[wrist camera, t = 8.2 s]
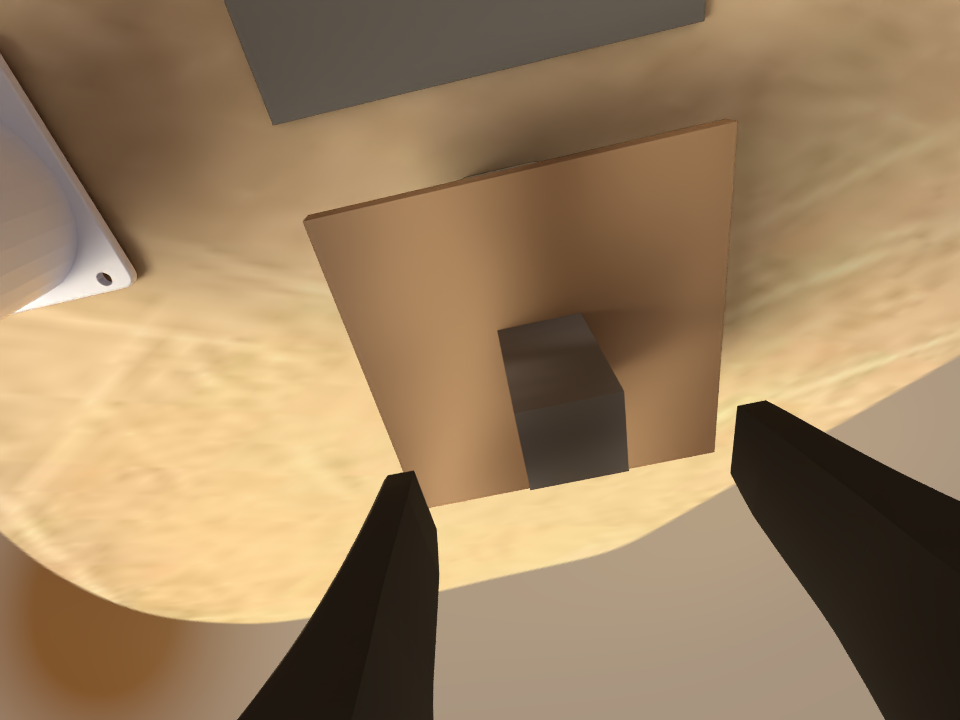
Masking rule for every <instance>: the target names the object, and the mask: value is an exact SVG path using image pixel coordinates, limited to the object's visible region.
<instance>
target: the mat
mask: <svg viewBox="0 0 960 720" xmlns="http://www.w3.org/2000/svg"><path fill="white" fill-rule="evenodd" d="M224 2H225V5H226V7H227V10H228V12H229V15H230V17H231V20H232V22H233V25H234V28H235V30H236V33H237V35H238V38H239V40H240V43H241V45H242V48H243V50H244V53H245V55H246V58H247V61H248V63H249V66H250V68H251V71H252V73H253V76H254V78H255V81H256V83H257V86H258V88H259V91H260V94H261V96H262V99H263V101H264V104H265V106H266V109H267V111H268V114H269V116H270V119H271V121H272V124H273V125H277V124H281V123H285V122H289V121H293V120H297V119H301V118H305V117H310V116H314V115H318V114H322V113H326V112H330V111H334V110H339V109H343V108H347V107H351V106H355V105H359V104H363V103H367V102H372V101H376V100H380V99H384V98H388V97H392V96H396V95H400V94H405V93H409V92H413V91H417V90H421V89H425V88H429V87H433V86H438V85H442V84H446V83H450V82H454V81H458V80H462V79H466V78H471V77H475V76H479V75H483V74H487V73H491V72H495V71H499V70H504V69H508V68H512V67H516V66H520V65H524V64H528V63H533V62H537V61H541V60H545V59H549V58H553V57H557V56H561V55H566V54H570V53H574V52H578V51H582V50H586V49H590V48H594V47H599V46H603V45H607V44H611V43H615V42H619V41H623V40H627V39H632V38H636V37H640V36H644V35H648V34H652V33H656V32H660V31H665V30H669V29H673V28H677V27H681V26H685V25H689V24H694V23H698V22H702V21H704V18H705V0H224Z"/></svg>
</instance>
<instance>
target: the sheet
mask: <svg viewBox="0 0 960 720" xmlns="http://www.w3.org/2000/svg"><path fill="white" fill-rule="evenodd" d="M737 124H738V121H733V120H728V119H723V120H719V121H714V122H710V123H706V124H701V125H697V126H693V127H688V128H684V129H680V130H675V131H671V132H667V133H662V134H658V135H654V136H649V137H645V138H641V139H636V140H632V141H628V142H623V143H619V144H615V145H610V146H606V147H602V148H597V149H593V150H589V151H584V152H580V153H576V154H571V155H567V156H563V157H558V158H554V159H550V160H545V161H541V162H537V163H532V164H528V165H524V166H519V167H515V168H511V169H506V170H502V171H498V172H493V173H489V174H485V175H480V176H476V177H472V178H467V179H463V180H459V181H454V182H450V183H446V184H441V185H437V186H433V187H428V188H424V189H420V190H415V191H411V192H407V193H402V194H398V195H394V196H389V197H385V198H381V199H376V200H372V201H368V202H363V203H359V204H355V205H350V206H346V207H342V208H337V209H333V210H329V211H324V212H320V213H316V214H311V215H308V216H307V217H306V218H305V219H304V221H303V224H304V226H305V229H306V231H307V234H308V236H309V238H310V241H311V243H312V246H313V248H314V251H315V253H316V256H317V258H318V261H319V263H320V266H321V268H322V271H323V273H324V276H325V278H326V281H327V283H328V286H329V288H330V291H331V293H332V296H333V298H334V301H335V303H336V306H337V308H338V310H339V313H340V315H341V318H342V320H343V323H344V325H345V328H346V330H347V333H348V335H349V338H350V340H351V343H352V345H353V348H354V350H355V353H356V355H357V358H358V360H359V363H360V365H361V368H362V370H363V373H364V375H365V378H366V380H367V382H368V385H369V387H370V390H371V392H372V395H373V397H374V400H375V402H376V405H377V407H378V410H379V412H380V415H381V417H382V420H383V422H384V425H385V427H386V430H387V432H388V435H389V437H390V440H391V442H392V445H393V447H394V450H395V452H396V454H397V457H398V459H399V462H400V464H401V467H402V469H403V472H408V471H413V470H414V472H415V474H416V477H417V479H418V482H419V485H420V487H421V490H422V492H423V495H424V498H425V500H426V503H427V506H428V508H431V507H436V506H441V505H446V504H451V503H456V502H462V501H467V500H472V499H477V498H482V497H487V496H492V495H497V494H502V493H508V492H513V491H518V490H523V489H528V488H530V490H534V489H539V488H544V487H549V486H554V485H559V484H565V483H570V482H575V481H580V480H585V479H590V478H595V477H600V476H605V475H611V474H616V473H621V472H626V471H629V469H630V468H635V467H640V466H646V465H651V464H656V463H661V462H666V461H671V460H676V459H681V458H686V457H692V456H697V455H702V454H707V453H712V452H714V450H715V436H716V421H717V407H718V393H719V379H720V365H721V350H722V336H723V322H724V308H725V294H726V280H727V265H728V251H729V237H730V223H731V209H732V195H733V180H734V166H735V152H736V138H737Z"/></svg>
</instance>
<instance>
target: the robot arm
mask: <svg viewBox="0 0 960 720" xmlns="http://www.w3.org/2000/svg"><path fill="white" fill-rule="evenodd" d="M103 273H106V274H108V275H109V276H110V277H111V279H112V282H111V281H109V280H107V279H106V278H105V277H104V276H103ZM136 280H137V274H136V271H135V269H134V267H133V266H132V264H131V263H130V261H129V259H128V258H127V256H126V255H125V253H124V251H123V250H122V248H121V247H120V245H119V243H118V242H117V240H116V239H115V237H114V235H113V234H112V232H111V231H110V229H109V227H108V226H107V224H106V222H105V221H104V219H103V218H102V216H101V214H100V213H99V211H98V210H97V208H96V206H95V205H94V203H93V202H92V200H91V198H90V197H89V195H88V194H87V192H86V190H85V189H84V187H83V185H82V184H81V182H80V181H79V179H78V177H77V176H76V174H75V173H74V171H73V169H72V168H71V166H70V165H69V163H68V161H67V160H66V158H65V157H64V155H63V153H62V152H61V150H60V149H59V147H58V145H57V144H56V142H55V140H54V139H53V137H52V136H51V134H50V132H49V131H48V129H47V128H46V126H45V124H44V123H43V121H42V120H41V118H40V116H39V115H38V113H37V112H36V110H35V108H34V107H33V105H32V103H31V102H30V100H29V99H28V97H27V95H26V94H25V92H24V91H23V89H22V87H21V86H20V84H19V83H18V81H17V79H16V78H15V76H14V75H13V73H12V71H11V70H10V68H9V67H8V65H7V63H6V62H5V60H4V58H3V57H2V55H1V54H0V320H2V319H3V318H5V317H7V316H9V315H10V314H14V313H19V312H23V311H27V310H32V309H36V308H40V307H45V306H49V305H54V304H58V303H62V302H67V301H71V300H76V299H80V298H84V297H89V296H93V295H98V294H102V293H106V292H111V291H115V290H119V289H124V288H127V287H129V286H131V285H132V284H134V283H135V281H136ZM731 475H732V477H733V479H734V481H735V483H736V485H737V487H738V488H739V491H740V493H741V494H742V496H743V498H744V500H745V502H746V504H747V505H748V507H749V509H750V511H751V513H752V514H753V516H754V517H755V519H756V520H757V522H758V523H759V525H760V526H761V528H762V529H763V530H764V532H765V533H766V535H767V536H768V538H769V539H770V540H771V542H772V543H773V545H774V546H775V548H776V549H777V550H778V552H779V553H780V554H781V556H782V557H783V559H784V560H785V562H786V563H787V564H788V566H789V567H790V569H791V570H792V571H793V573H794V574H795V576H796V577H797V578H798V580H799V581H800V583H801V584H802V586H803V587H804V588H805V590H806V591H807V593H808V594H809V595H810V597H811V598H812V600H813V601H814V602H815V604H816V605H817V607H818V608H819V609H820V611H821V612H822V614H823V615H824V617H825V618H826V620H827V621H828V623H829V624H830V626H831V627H832V629H833V630H834V632H835V633H836V635H837V637H838V638H839V640H840V642H841V643H842V645H843V647H844V649H845V650H846V652H847V654H848V655H849V657H850V659H851V661H852V662H853V664H854V666H855V667H856V669H857V671H858V673H859V674H860V676H861V678H862V679H863V681H864V683H865V684H866V686H867V688H868V689H869V692H870V693H871V695H872V697H873V699H874V701H875V702H876V704H877V706H878V708H879V710H880V711H881V713H882V715H883V717H884V719H885V720H960V501H958V500H956V499H954V498H952V497H950V496H947V495H945V494H943V493H941V492H939V491H937V490H935V489H933V488H931V487H929V486H927V485H925V484H922V483H920V482H918V481H916V480H914V479H912V478H910V477H908V476H906V475H904V474H902V473H900V472H898V471H896V470H894V469H892V468H890V467H888V466H886V465H884V464H882V463H880V462H878V461H876V460H874V459H872V458H871V457H869V456H867V455H865V454H863V453H861V452H859V451H858V450H856V449H854V448H852V447H850V446H848V445H846V444H845V443H843V442H841V441H839V440H837V439H835V438H834V437H832V436H830V435H828V434H826V433H825V432H823V431H821V430H819V429H817V428H816V427H814V426H812V425H810V424H808V423H807V422H805V421H803V420H801V419H799V418H798V417H796V416H794V415H792V414H790V413H789V412H787V411H785V410H783V409H781V408H779V407H778V406H776V405H774V404H772V403H770V402H768V401H766V400H765V401H760V402H755V403H750V404H745V405H740V406H737V414H736V424H735V434H734V444H733V453H732V463H731ZM438 589H439V560H438V543H437V529H436V527H435V524H434V521H433V519H432V516H431V513H430V511H429V508H428V506H427V503H426V500H425V498H424V495H423V492H422V490H421V487H420V485H419V482H418V479H417V477H416V474H415V472H414V470H413V471H408V472H403V473H398V474H393V475H388V476H387V477H386V479H385V480H384V482H383V484H382V486H381V489H380V491H379V493H378V495H377V497H376V499H375V502H374V504H373V506H372V508H371V510H370V512H369V514H368V516H367V518H366V520H365V522H364V524H363V526H362V528H361V530H360V532H359V534H358V536H357V538H356V540H355V542H354V544H353V546H352V547H351V549H350V551H349V553H348V555H347V557H346V559H345V561H344V563H343V564H342V566H341V568H340V570H339V571H338V573H337V575H336V577H335V578H334V580H333V582H332V583H331V585H330V587H329V588H328V590H327V592H326V594H325V595H324V597H323V599H322V600H321V602H320V604H319V605H318V607H317V609H316V610H315V612H314V613H313V615H312V617H311V618H310V620H309V621H308V623H307V624H306V626H305V627H304V629H303V631H302V632H301V634H300V635H299V636H298V638H297V640H296V641H295V643H294V644H293V646H292V647H291V648H290V650H289V651H288V653H287V654H286V656H285V657H284V658H283V660H282V661H281V663H280V664H279V665H278V667H277V668H276V669H275V671H274V672H273V673H272V675H271V676H270V677H269V679H268V680H267V681H266V683H265V684H264V685H263V687H262V688H261V690H260V691H259V692H258V694H257V695H256V696H255V698H254V699H253V700H252V702H251V703H250V704H249V705H248V707H247V708H246V709H245V710H244V712H243V713H242V714H241V715H240V717H239V718H238V719H237V720H433V680H434V679H433V678H434V662H435V661H434V660H435V644H436V626H437V609H438Z"/></svg>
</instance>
